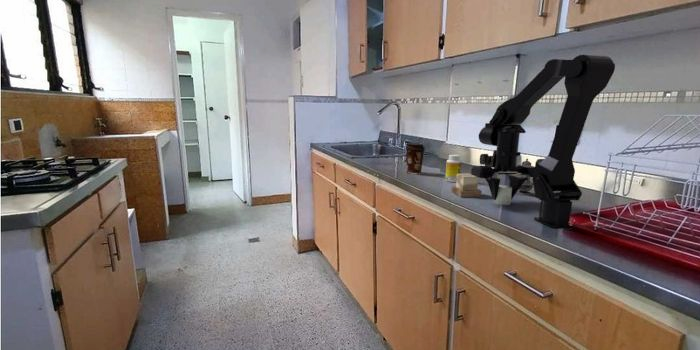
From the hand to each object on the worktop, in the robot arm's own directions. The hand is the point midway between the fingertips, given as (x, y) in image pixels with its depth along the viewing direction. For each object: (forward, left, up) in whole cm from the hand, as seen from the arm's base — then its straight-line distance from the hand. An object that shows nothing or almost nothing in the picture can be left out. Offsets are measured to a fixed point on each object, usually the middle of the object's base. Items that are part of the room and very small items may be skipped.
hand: (502, 199), depth 101 cm
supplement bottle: (+32, +1, -1) cm, 32 cm away
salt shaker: (+10, -14, -1) cm, 17 cm away
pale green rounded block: (0, 0, -1) cm, 1 cm away
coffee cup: (+50, +11, -1) cm, 51 cm away
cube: (+11, +6, +1) cm, 12 cm away
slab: (+11, +6, -2) cm, 13 cm away
